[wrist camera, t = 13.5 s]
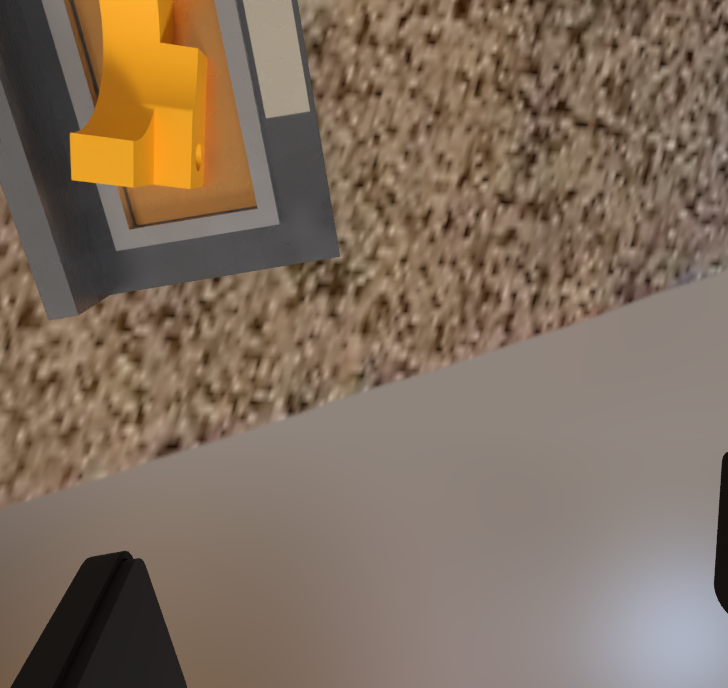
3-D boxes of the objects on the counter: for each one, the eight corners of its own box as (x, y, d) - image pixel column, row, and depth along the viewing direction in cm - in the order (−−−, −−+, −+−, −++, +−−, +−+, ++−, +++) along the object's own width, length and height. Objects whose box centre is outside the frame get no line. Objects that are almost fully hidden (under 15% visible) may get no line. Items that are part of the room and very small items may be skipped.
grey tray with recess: (263, -203, 26) (249, -293, 21) (339, 253, 33) (343, 271, 28) (-55, -158, 26) (-148, -238, 21) (91, 295, 33) (48, 320, 28)
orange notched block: (202, 186, 31) (174, 192, 24) (121, 176, 30) (71, 180, 24) (211, -68, 27) (181, -136, 21) (119, -85, 26) (59, -158, 20)
